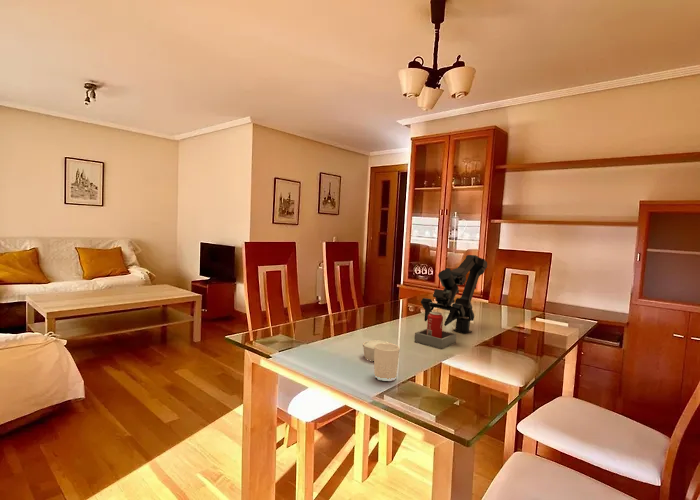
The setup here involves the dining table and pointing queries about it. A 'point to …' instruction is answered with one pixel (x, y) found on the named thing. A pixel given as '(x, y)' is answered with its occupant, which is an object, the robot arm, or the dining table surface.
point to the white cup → (386, 360)
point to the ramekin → (371, 348)
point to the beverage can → (435, 324)
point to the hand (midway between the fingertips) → (434, 323)
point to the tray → (435, 339)
